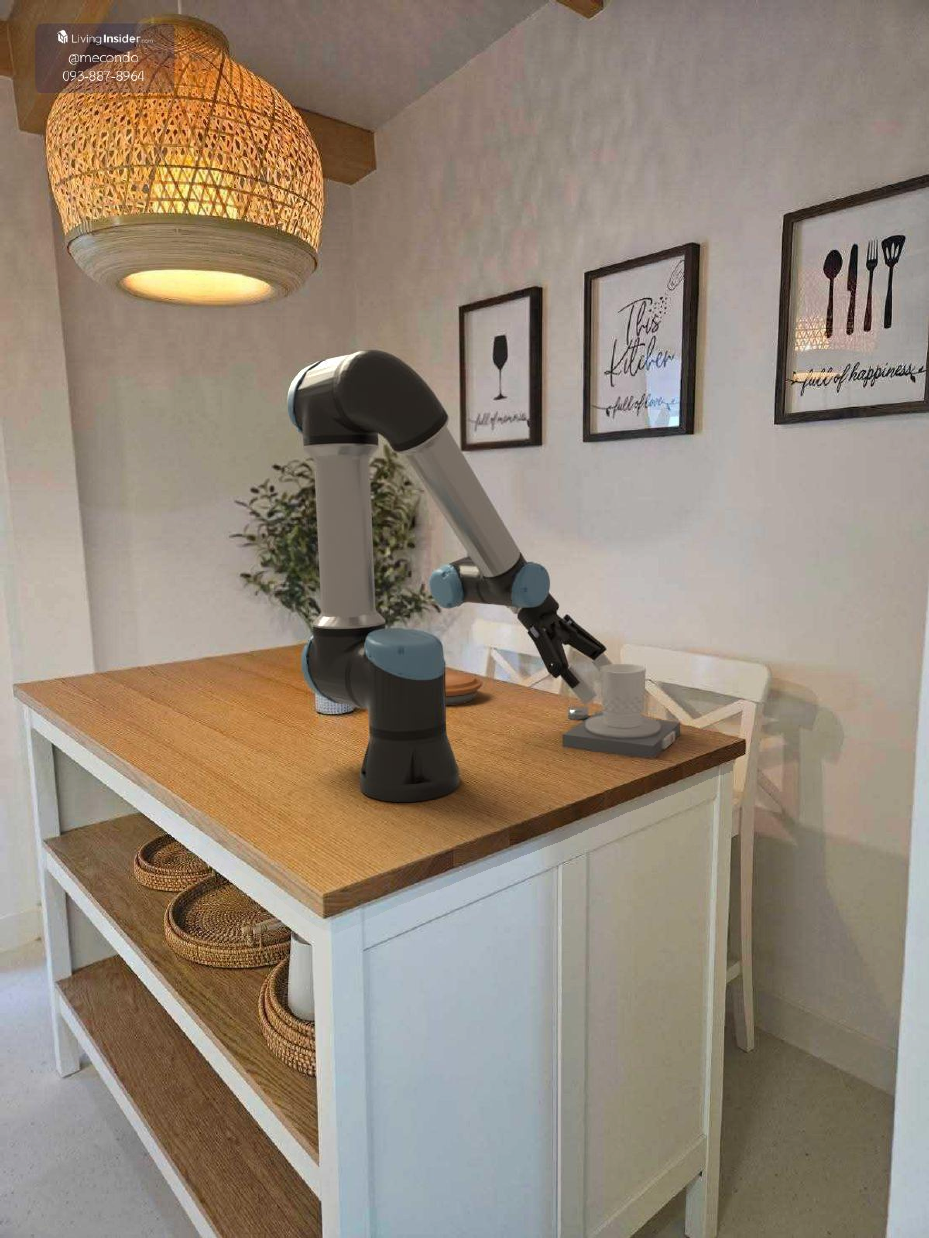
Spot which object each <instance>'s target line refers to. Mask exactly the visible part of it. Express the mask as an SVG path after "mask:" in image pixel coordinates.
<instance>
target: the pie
mask: <svg viewBox="0 0 929 1238" xmlns="http://www.w3.org/2000/svg"><path fill="white" fill-rule="evenodd" d="M445 681H446V706H453V705H452V704H456V705H461V703H462V704H465V703H464V702H467V703H469V702H471V701H472V700H473V699H474V698H475V696H476V695H477V693H478V690H479V689H480V688H481V687H482V686H483V681H482V680H480V679H478V678H476V677H475V676H473V675H471V674H466V673H457V672H456V673H449V672H447V673H446V672H445Z"/></svg>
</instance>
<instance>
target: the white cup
mask: <svg viewBox="0 0 929 1238" xmlns="http://www.w3.org/2000/svg"><path fill="white" fill-rule="evenodd" d="M599 674H600V675H599V677H600V678H599V679H600V681H599V683H600V698H601V708H602V711H603V723H604V724H605V725H607V726H610V727H614V728H634V727H638V726H640V725H642V716H643V710H644V703H645V692H646V690H645V688H646V667H644V666H642V665H638V664H632V663H612V664H610V665H604V666H602V667H600V672H599Z"/></svg>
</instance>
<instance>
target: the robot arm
mask: <svg viewBox="0 0 929 1238" xmlns="http://www.w3.org/2000/svg"><path fill="white" fill-rule="evenodd" d="M289 386H290V387H289V389H288V392H287V399H286V400H287V403H286V404H287V413H288V416H289V419H290V421H291V423H292V425H294V426H295V427H296V430H297V431H298V433H300V434H301V435H302V439H303V440H302V441H303V442H302V443H303V450H304V452H306V453H307V454H308V455H309V456H310V457H311V458H312V460H313V464H314V465H313V466H314V484H315V485H314V488H315V507H316V525H317V526H316V528H317V545H318V547H317V548H318V565H319V586H320V588H319V589H320V606H321V607H320V608H321V609H320V610H321V612H320V613H319V616H317V618H316V619H314V621H313V622H312V635H311V637H309V638H308V640H307V644H305V645H304V646H303V649H302V653H301V656H300V659H301V661H300V664H301V665H300V666H301V671H302V674H303V675H302V676H303V679H304V680H305V682H306V684H307V685H308V687H309V688H310V689H311V690H312V691H313V692H314V693H315V694H317V695H318V696H320V697H321V698H325V699H326V700H328V701H330V702H332V703H335V704H339V705H346V706H349V707H354V708H358V709H362V710H367V711H368V713H367V714H368V715H367V716H368V731H369V733H368V734H369V738H368V741H367V742H368V743H367V747H366V750H365V753H364V756H363V760H362V765H361V768H360V771H359V790H360V791H361V792H362V793H363V795H366V796H367V797H369V798H372V799H376V800H379V801H385V802H395V803H396V802H397V803H412V802H421V801H428V800H429V801H430V800H433V799H438V798H441V797H444V796H446V795H449V794H451V793H452V792H455V790H457V789H458V787H459V786H460V768H459V765H458V763H457V760H456V757H455V755H454V751H453V747H452V745H451V743H450V740H449V737H448V733H447V707H446V706H447V705H446V681H445V674H446V660H445V655H444V647H443V643H442V642H441V640H440V638H438V637H437V636H435V635H434V634H432V633H430V632H427V631H424V630H421V629H413V628H409V629H408V628H403V627H387V628H386V619H385V618H384V617H383V616H382V615H381V614H380V613H379V612H378V611H377V609H376V590H375V568H374V567H375V566H374V544H373V543H374V542H373V540H374V539H373V519H372V518H373V517H372V495H371V492H372V489H371V468H370V460H371V457H372V456H373V455H374V454H375V452H377V451H378V450H379V448H380V447H379V444H380V443H379V435H380V436H382V438H384V439H385V440H386V441H387V443H388V444H389V446H390V447H391V449H392V451H394V452H395V453H396V454H401V455H404V457H405V458H406V460H407V461H408V463H409V464H410V466H411V467H412V468H413V470H414V472H415V473H416V475H417V477H418V478H419V480H420V482H421V483H422V484H423V486H424V488H425V489H426V491H427V492H428V494H429V495H430V496H431V498H432V500H433V502H434V503H435V505H436V506H437V508H438V509H439V510H440V512H441V514H442V515H443V517H444V519H445V520H446V522H447V523H448V525H449V526H450V528H451V530H452V531H453V533H454V534H455V535H456V537H457V539H458V541H459V542H460V544H461V545H462V547H463V548H464V550H465V551H466V556H465V557H462V558H460V559H457V560H455V561H452V562H450V563H445V564H444V565H443V566H441V567H439V568H436V569H435V570H433V571H432V573H431V575H430V576H429V581H428V586H429V589H430V594H431V597H432V599H433V600H434V601H435V602H436V603H437V605H438V606H440V607H441V608H444V609H453V608H456V607H460V606H462V605H463V604H466V603H473V604H481V605H482V604H483V605H496V606H503V607H506V608H507V609H510V610H511V612H512V613H513V614H514V615H516V617H517V620H518V621H519V622H520V623H521V624H522V625H523V627H524V628H525V630H527V635H528V636H529V637H530V638H531V640H532V642H533V643H534V645H535V647H536V650H537V652H538V654H539V655H540V658H541V660H542V662H543V664H544V666H545V669H546V670H547V672H548V674H549V675H551V676H552V677H553V678H554V679H558V678H559V677H561V678H562V680H563V681H564V683H566V685H567V686H568V687H569V689H571V691H572V692H573V693H574V694H575V695H576V697H577V698H578V699H579V701H580V702H582V704H583V705H584V706H587V704H588V703H589V702H591V701H592V700H593V699H594V698H596V696H598V695H597V693H596V692H595V690H594V689H593V688H592V687H591V686H590V684H589V683H588V682H587V681H586V680H585V679H584V677H583V676H582V675H581V674H580V673H579V671H578V670H577V669H576V668H575V667H574V665H570V666H569V662H568V658H567V655H566V652H565V649H564V646H567V645H568V646H569V647H572V648H573V649H575V650H577V651H578V652H580V653H581V654H582V655H584V656H586V657H587V658H589V659H591V660H592V662H591V663H592V665H594V667H595V668H596V669H597V670H598V671H599V673H600V667H602V666H604V665H610V664H613V663H612V661H611V660H610V659H609V658H608V657H607V656H606V654H605V652H606V651H607V647H606V646H605V645H604V644H603V643H602V642H600V640H598V639H597V638H595V636H593V635H592V634H590V632H588V631H587V630H585V629H584V628H583V627H582V626H581V625H579V624H578V623H577V622H576V621H575V620H574V619H573V618H572V617H571V616H570V615H569V614H565V615H564V616H563V617H561V616H560V615H558V610H559V608H560V603H559V602H558V601H557V600H556V599H555V598H554V597H553V595H552V594H551V593H550V589H551V578H550V575H549V572H548V570H547V568H545V566H543V565H542V564H541V563H539V562H538V563H537V562H534V561H526V559H525V557H524V556H523V554H522V552H521V550H520V549H519V547H518V545H517V544H516V542H515V540H514V539H513V537H512V535H511V533H510V531H509V530H508V528H507V526H506V525H505V523H504V521H503V520H502V518H501V516H500V515H499V513H498V511H497V509H496V508H495V506H494V504H493V502H492V501H491V499H490V498H489V496H488V494H487V492H486V491H485V489H484V487H483V485H481V481H480V480H479V479H478V477H477V476H476V473H475V472H474V470H473V469H472V467H471V465H470V463H469V462H468V460H467V459H466V457H465V455H464V454H463V452H462V450H461V448H460V446H459V445H458V444H457V441H456V440H455V439H454V437H453V435H452V433H451V432H450V429H449V428H448V423H449V420H450V418H449V417H450V416H449V415H448V413H447V411H446V409H445V408H444V406H443V404H442V403H441V401H440V400H439V398H438V397H437V395H436V394H435V392H434V391H433V389H431V387H430V386H429V385H428V383H427V382H426V381H425V380H424V379H423V378H422V377H421V375H419V373H417V371H416V370H414V369H413V367H411V366H410V365H408V364H407V363H406V362H405V361H403V360H402V359H401V358H399V357H397V356H395V355H394V354H392V353H389V352H387V351H383V350H379V349H365V350H360V351H357V352H354V353H351V354H346V355H342V356H338V357H337V356H336V357H333V358H332V357H331V358H328V359H327V358H326V359H322V360H319V361H317V362H315V363H313V364H311V365H308V366H306V367H305V368H303V369H302V370H301V371H299V372H298V374H297V375H296V376H295V377H294V379H293V380H292V381H291V384H290V385H289ZM563 645H564V646H563Z"/></svg>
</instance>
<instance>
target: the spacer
mask: <svg viewBox="0 0 929 1238" xmlns="http://www.w3.org/2000/svg"><path fill="white" fill-rule="evenodd" d="M588 718H589V707H586V706H583V705H574V706H573V705H572V706H569V707H567V719H568V720H571V721H581V722H582V721H585V720H586V719H588Z"/></svg>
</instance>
